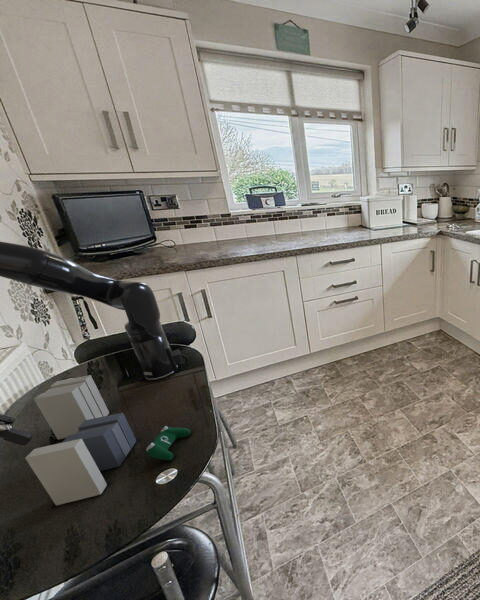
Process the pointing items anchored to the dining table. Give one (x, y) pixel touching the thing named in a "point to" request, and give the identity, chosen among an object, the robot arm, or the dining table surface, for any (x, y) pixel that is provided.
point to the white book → (67, 471)
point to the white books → (71, 405)
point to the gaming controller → (165, 442)
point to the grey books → (106, 439)
